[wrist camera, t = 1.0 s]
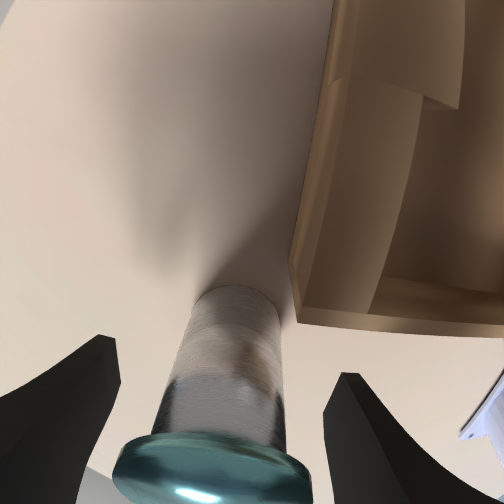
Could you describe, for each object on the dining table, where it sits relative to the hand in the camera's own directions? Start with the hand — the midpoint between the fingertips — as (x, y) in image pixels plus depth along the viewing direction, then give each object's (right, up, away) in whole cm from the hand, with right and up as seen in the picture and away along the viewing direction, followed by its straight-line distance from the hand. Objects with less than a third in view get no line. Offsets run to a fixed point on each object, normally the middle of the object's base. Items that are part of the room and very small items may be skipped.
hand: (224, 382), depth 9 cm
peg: (0, +1, +3) cm, 3 cm away
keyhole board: (+9, +10, -1) cm, 13 cm away
